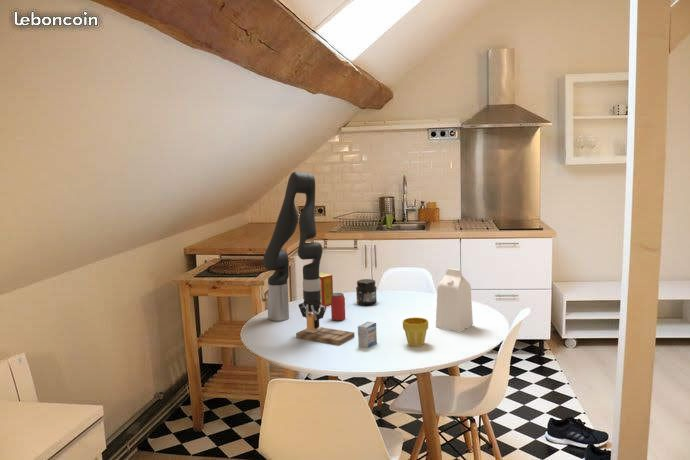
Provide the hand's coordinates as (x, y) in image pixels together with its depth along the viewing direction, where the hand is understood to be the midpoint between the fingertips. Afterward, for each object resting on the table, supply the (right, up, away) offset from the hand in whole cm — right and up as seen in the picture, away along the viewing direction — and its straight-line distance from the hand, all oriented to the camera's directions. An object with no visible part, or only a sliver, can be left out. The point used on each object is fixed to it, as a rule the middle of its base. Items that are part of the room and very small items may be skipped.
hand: (313, 327), depth 264 cm
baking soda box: (+2, +3, +52) cm, 52 cm away
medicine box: (+23, -5, -14) cm, 27 cm away
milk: (+63, -1, +7) cm, 63 cm away
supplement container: (+25, +4, +50) cm, 56 cm away
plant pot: (+43, -5, -15) cm, 45 cm away
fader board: (+5, -4, -3) cm, 7 cm away
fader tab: (0, -1, 0) cm, 1 cm away
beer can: (+11, 0, +24) cm, 27 cm away
